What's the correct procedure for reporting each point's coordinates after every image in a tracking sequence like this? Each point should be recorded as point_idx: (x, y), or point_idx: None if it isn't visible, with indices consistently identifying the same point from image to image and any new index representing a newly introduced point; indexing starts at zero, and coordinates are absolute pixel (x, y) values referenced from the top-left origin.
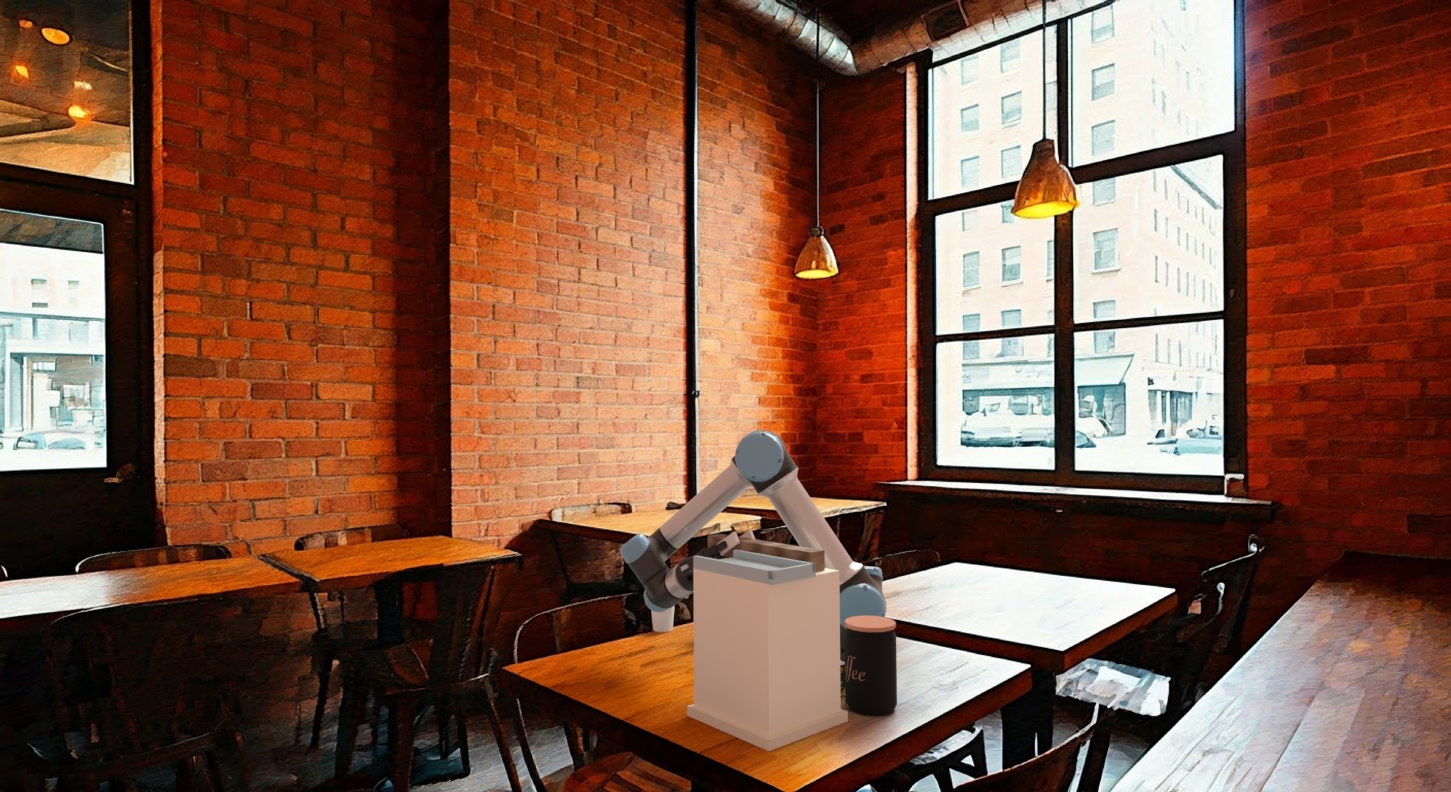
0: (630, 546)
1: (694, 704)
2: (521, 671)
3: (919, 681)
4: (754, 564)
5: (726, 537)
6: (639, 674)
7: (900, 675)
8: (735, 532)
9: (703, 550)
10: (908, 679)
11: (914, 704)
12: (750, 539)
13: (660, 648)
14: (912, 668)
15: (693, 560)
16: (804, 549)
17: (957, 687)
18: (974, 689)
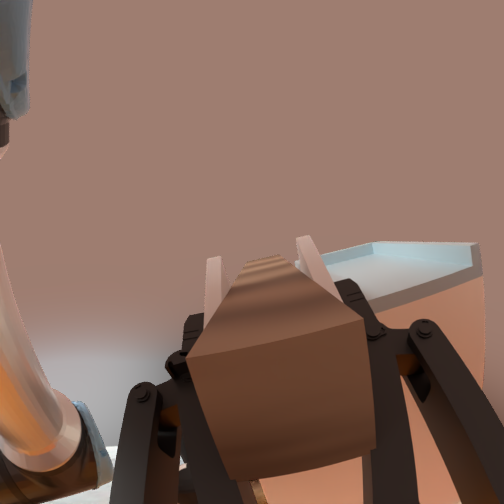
0: None
1: (457, 502)
2: None
3: (107, 483)
4: (350, 277)
5: (324, 264)
6: None
7: (95, 501)
8: (299, 239)
9: (439, 337)
10: (105, 492)
11: (182, 460)
12: (246, 283)
13: None
14: (65, 499)
15: (480, 254)
16: (264, 259)
17: (111, 459)
18: (111, 450)
